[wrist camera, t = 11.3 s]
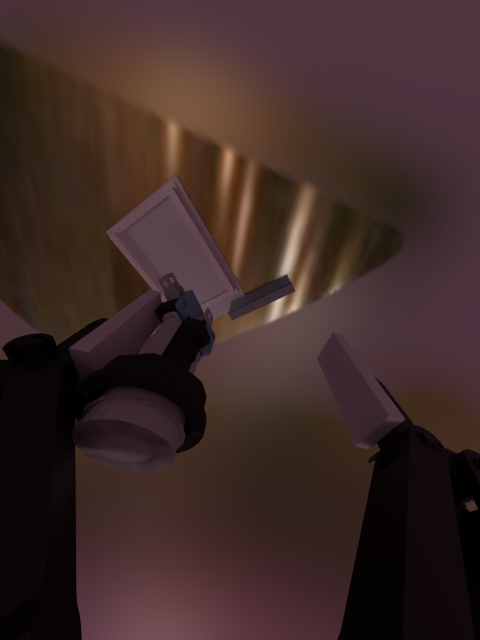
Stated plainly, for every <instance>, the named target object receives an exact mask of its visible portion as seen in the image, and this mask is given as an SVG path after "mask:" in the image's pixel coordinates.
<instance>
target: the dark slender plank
mask: <svg viewBox="0 0 480 640" xmlns="http://www.w3.org/2000/svg"><path fill="white" fill-rule="evenodd" d="M292 292H295V290H294V287H293V285H292V283H291V281H290V279H289V278H288V276H287V275H286V276H284V277H281V278H279V279H277V280H275V281H273V282H271V283H269V284H267V285H265V286H263V287H261V288H259V289H257V290H255V291H253V292H251V293H249V294H247V295H245V296H243V297H241V298H239V299H237V300H235V301H233V302H231V305H230V309H229V312H228V314H229V316H230V317H231V319H232V320H234V319H236V318H238V317H240V316H243V315H245V314H247V313H249V312H251V311H253V310H256V309H258V308H260V307H262V306H264V305H266V304H269V303H271V302H273V301H275V300H277V299H279V298H282V297H284V296H286V295H288V294H290V293H292Z"/></svg>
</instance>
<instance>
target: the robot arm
mask: <svg viewBox="0 0 480 640" xmlns="http://www.w3.org/2000/svg"><path fill="white" fill-rule="evenodd" d="M160 304H161V292H159V291H155V290H151V289H150V290H149V291H147V292H146V293H145V294H143V295H142V296H140V297H139V298H138V299H136V300H135V301H133V302H132V303H131V304H129V305H128V306H126V307H125V308H124V309H122V310H121V311H120V312H118V313H117V314H115V315H114V316H113V317H111V318H110V319H106V318H102V319H99V320H96V321H94V322H92V323H90V324H89V325H87V326H86V327H85V328H83V329H81V330H80V331H78V333H75V334H74V335H72V336H71V337H69V338H68V339H66V340H65V341H63V342H62V343H60V344H59V345H57V346H56V343H55V340H54V338H53V336H51V335H49V334H42V333H39V334H30V335H25V336H21V337H18V338H16V339H13V340H12V341H10V342H8V343H6V345H5V346H4V347H3V348H2V349H3V350H4V352H5V354H6V356H7V357H8V359H9V360H0V640H82V635H81V621H80V615H79V610H78V605H77V594H76V483H75V482H76V481H75V444H74V442H73V434H72V432H73V430H74V428H75V416H74V413H73V411H72V410H71V409H70V404H69V398H70V394H71V392H72V390H73V389H74V387H75V386H76V385H77V384H78V383H79V382H80V381H81V380H82V379H84V378H85V377H86V376H87V375H89V374H90V373H92V372H95V371H97V370H100V369H102V368H103V367H104V366H105V365H106V364H107V363H109V362H110V361H111V360H113V359H114V358H115V357H117V356H119V355H131V354H135V353H136V352H137V351H138V350H139V349H140V347H141V346H142V345H143V344H144V343H145V342H146V340H147V339H148V338H149V337H150V336H151V335H152V333H153V332H154V331H155V330H156V329H157V328H158V326H159V325H160V324H161V322H160V320H159V319H158V317H157V315H156V313H155V310H156V308H157V307H158V306H159V305H160ZM317 359H318V362H319V364H320V366H321V368H322V371H323V373H324V375H325V378H326V380H327V382H328V384H329V387H330V389H331V391H332V394H333V396H334V398H335V400H336V403H337V405H338V407H339V409H340V412H341V414H342V416H343V418H344V421H345V423H346V425H347V428H348V430H349V432H350V434H351V437H352V439H353V441H354V444H355V446H356V447H361V448H366V449H370V448H372V447H373V446H374V445H375V444H376V443H377V444H378V446H379V448H380V451H379V452H377V453H376V454H375V455H374V456H373V457H371V458H370V459H369V461H368V462H369V463H371V462H372V461H375V464H374V470H373V474H372V480H371V484H370V489H369V494H368V499H367V504H366V509H365V514H364V519H363V524H362V529H361V534H360V539H359V544H358V548H357V553H356V558H355V563H354V568H353V573H352V579H351V583H350V588H349V593H348V598H347V603H346V608H345V613H344V618H343V623H342V627H341V631H340V634H339V637H338V639H337V640H480V454H478V453H476V452H474V451H472V450H469V449H465V450H464V451H462V452H460V453H458V454H457V453H455V452H453V451H451V450H448V449H446V448H444V446H443V445H442V444H441V442H440V441H439V440H438V439H437V438H436V437H435V436H434V435H433V434H431V433H430V432H429V431H427V430H426V429H424V428H422V427H420V426H416V425H414V424H413V423H412V421H411V420H410V419H409V417H408V416H407V415H406V414H405V412H404V411H403V410H402V408H401V407H400V406H399V404H398V403H397V402H396V401H395V399H394V398H393V396H392V395H390V393H389V391H388V390H387V389H386V387H385V386H384V385H383V384H382V383H381V382H380V381H379V380H377V379H376V378H375V377H374V376H373V375H372V373H371V372H370V371H369V369H368V368H367V367H366V365H365V364H364V363H363V361H362V360H361V359H360V357H359V356H358V354H357V353H356V352H355V350H354V349H353V348H352V346H351V345H350V344H349V342H348V341H347V340H346V338H345V337H344V336H343V334H339V333H335V332H333V333H332V335H331V337H330V338H329V340H328V341H327V343H326V345H325V347H324V348H323V350H322V351H321V353H320V355H319V357H318V358H317ZM473 500H474V501H475V503H476V505H477V507H478V509H477V510H475V511H472V512H469V511H468V509H467V507H466V505H465V503H467V502H470V501H473Z"/></svg>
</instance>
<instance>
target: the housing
mask: <svg viewBox="0 0 480 640" xmlns="http://www.w3.org/2000/svg"><path fill="white" fill-rule="evenodd" d="M106 233H107V234H108V236H109V238H110V239H111V240H112V241H113V242H114V244H115V245H116V246H117V247H118V248H119V250H120V251H121V252H122V253H123V255H124V256H125V257H126V258H127V259H128V261H129V262H130V263H131V264H132V265H133V267H134V268H135V269H136V270H137V271H138V273H139V274H140V275H141V276H142V277H143V279H144V280H145V281H146V282H147V283H148V285H149V286H150V287H151V288H152V290H155V291H159V292H161V300H162V302H166V301H167V299H166V298H165V296H164V294H165V292H164V290H163V288H162V287H161V285H160V283H159V281H158V279H159V278H162V277H164V275H165V274H168V273H171V272H173V273H174V275H175V277H176V279H177V281H178V283H179V285H180V286H181V285H182V286H183V288H184V290H185V292H186V291H189V290H193V292H194V294H195V296H196V298H197V300H198V302H199V304H200V306H201V308H202V310H203V312H204V314H205V311H206V309H207V308H209V309H210V311H211V313H212V315H213V320H214V319H216V318H218V317H220V316H223V315H225V314H227V313H228V312H229V309H230V305H231V302H233V301H235V300H237V299H239V298H241V297H243V296H245V293H244V291H243V289H242V288H241V286H240V284H239V282H238V281H237V279H236V277H235V276H234V274H233V272H232V270H231V269H230V267H229V265H228V263H227V262H226V260H225V258H224V257H223V255H222V253H221V251H220V250H219V248H218V246H217V244H216V243H215V241H214V239H213V237H212V236H211V234H210V232H209V231H208V229H207V227H206V225H205V224H204V222H203V220H202V218H201V217H200V215H199V213H198V212H197V210H196V208H195V206H194V205H193V203H192V201H191V199H190V198H189V196H188V194H187V193H186V191H185V189H184V187H183V186H182V184H181V182H180V180H179V179H178V177H177V175H175V176H174V177H172V178H171V179H170V180H169V181H167V182H166V183H165V184H164V185H163V186H161V187H160V188H159V189H158V190H156V191H155V192H154V193H153V194H152V195H150V196H149V197H148V198H147V199H145V200H144V201H143V202H142V203H141V204H139V205H138V206H137V207H136V208H134V209H133V210H132V211H131V212H130V213H128V214H127V215H126V216H125V217H123V218H122V219H121V220H120V221H119V222H117V223H116V224H115V225H114V226H112V227H111V228H110V229H109V230H108V231H106ZM170 280H171V282H172V283H173V282H174V279H173V278H170ZM164 286H166V287H169V286H168V284H167V282H166V281H165V282H164ZM208 314H209V313H208ZM209 317H210V314H209Z"/></svg>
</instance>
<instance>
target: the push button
mask: <svg viewBox="0 0 480 640" xmlns="http://www.w3.org/2000/svg"><path fill="white" fill-rule="evenodd" d="M170 278H173V279H174V282H173V283H172V282H171V280H170ZM158 281H159V283H160V285H161V287H162V288H163V290H164V292H165V294H164V296H165V298H166V299H167V301H166V302H163V303H161V304H160V305H159V306H158V307H157V308H156V310H155V313H156V315H157V317H158V319H159V320H160V322H161V323H162V324H161V325H160V326H159V328H158V329H157V330H156V331H155V332H154V334H153V335H152V336H151V337H150V339H149V340H148V341H147V342H146V343H145V345H144V346H143V347H142V348H141V350H140V351H139V352H138V353H137V354H131V355H119V356H117V357H115V358H114V359H113V360H111V361H110V362H109V363H107V364H106V365H105V366H104V367H103V368H102V369H100V370H97V371H95V372H92V373H90V374H89V375H87V376H86V377H85V378H84V379H82V380H81V381H80V382H79V383H78V384H77V385H76V386H75V387H74V389H73V390H72V392H71V394H70V398H69V404H70V409H71V410H72V411H73V413H74V416H75V418H76V420H77V421H78V422H79V423H78V424H77V425H76V427H75V428H74V430H73V432H72V434H73V442H74V444H75V445H76V446H77V447H78V448H79V449H80V450H81V451H82V452H83V453H84V454H85V455H87V456H89V457H91V458H93V459H95V460H97V461H98V462H100V463H102V464H105V465H107V466H111V467H114V468H118V469H121V470H127V471H137V472H147V471H149V472H152V471H155V470H161V469H162V468H164V467H167V466H169V465H170V464H171V463H172V460H173V458H174V456H175V454H176V453H180V452H183V451H186V450H188V449H190V448H192V447H194V446H195V445H196V444H197V443H199V442H200V440H201V439H202V437H203V435H204V431H205V427H206V413H205V410H204V406H205V401H206V393H205V390H204V387H203V384H202V382H201V381H200V380H199V379H198V378H196V377H195V376H194V373H195V370H196V367H197V364H198V362H199V361H200V359H201V356H205V355H209V354H210V353H211V350H212V346H213V342H214V340H215V334H214V332H213V330H212V329H211V326H210V325H211V324H212V321H213V315H212V313H211V311H210V309H209V308H207V309H206V311H205V314H204V312H203V310H202V308H201V306H200V304H199V302H198V300H197V298H196V296H195V294H194V292H193V290H189V291H186V292H185V290H184V288H183V286H182V285H181V286H180V285H179V283H178V281H177V279H176V277H175V275H174V273H173V272H171V273H168V274H165V275H164V277H162V278H159V279H158ZM165 281H166V282H167V284H168V286H169V287H166V286H164V282H165ZM208 313H209V314H210V317H209V314H208Z"/></svg>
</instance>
